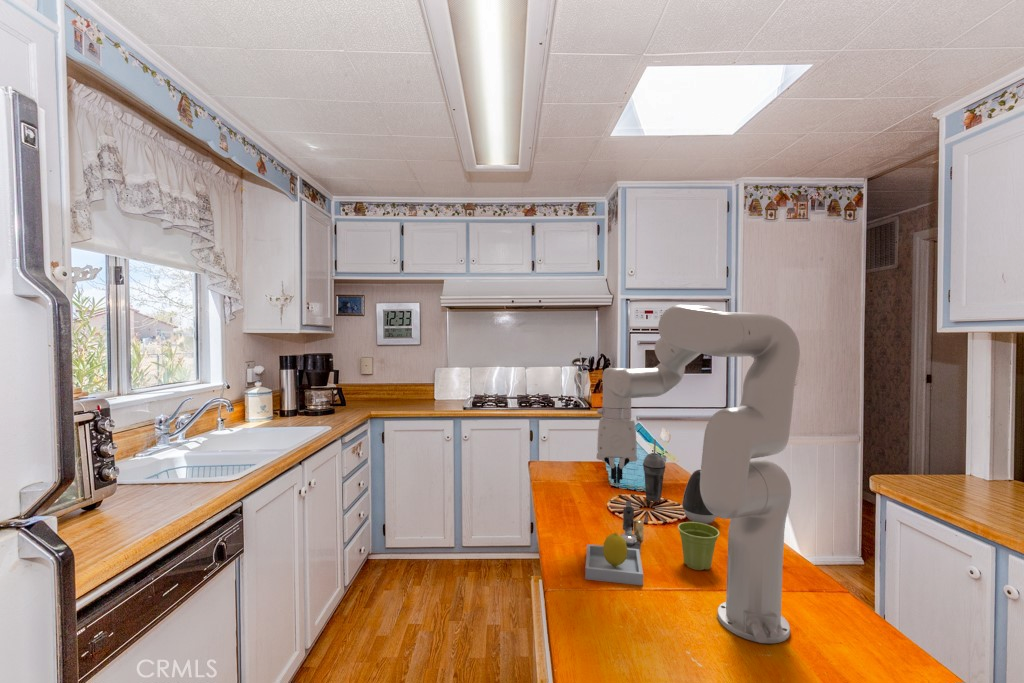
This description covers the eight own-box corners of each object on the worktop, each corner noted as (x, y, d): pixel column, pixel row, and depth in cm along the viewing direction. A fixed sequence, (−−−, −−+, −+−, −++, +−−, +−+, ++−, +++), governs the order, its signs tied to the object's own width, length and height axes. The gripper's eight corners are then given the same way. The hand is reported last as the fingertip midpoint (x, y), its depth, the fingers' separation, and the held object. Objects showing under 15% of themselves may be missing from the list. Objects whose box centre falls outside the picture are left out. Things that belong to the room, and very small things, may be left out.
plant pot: (681, 552, 125) (682, 518, 125) (721, 562, 120) (722, 527, 120) (672, 567, 117) (673, 531, 117) (715, 578, 112) (716, 540, 112)
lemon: (599, 569, 115) (600, 534, 114) (606, 559, 119) (607, 526, 119) (623, 574, 112) (624, 540, 112) (629, 564, 117) (630, 531, 117)
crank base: (646, 557, 122) (646, 537, 122) (616, 554, 123) (617, 535, 123) (642, 538, 133) (643, 519, 133) (615, 535, 135) (615, 517, 135)
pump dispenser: (683, 525, 142) (685, 473, 142) (680, 512, 153) (681, 463, 152) (721, 529, 140) (723, 476, 140) (715, 516, 150) (717, 466, 150)
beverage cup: (641, 502, 161) (643, 441, 160) (642, 495, 168) (643, 436, 167) (664, 505, 159) (666, 443, 158) (664, 497, 166) (666, 438, 165)
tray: (642, 585, 109) (643, 574, 109) (585, 579, 111) (585, 568, 111) (638, 559, 121) (639, 549, 121) (586, 554, 123) (587, 544, 123)
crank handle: (636, 546, 123) (637, 518, 123) (620, 544, 124) (621, 517, 124) (635, 526, 135) (636, 501, 135) (620, 525, 136) (621, 500, 136)
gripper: (588, 415, 130) (588, 484, 130) (646, 416, 127) (646, 487, 127) (589, 411, 138) (588, 476, 137) (644, 412, 135) (644, 479, 135)
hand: (616, 482), depth 132 cm, fingers closed
